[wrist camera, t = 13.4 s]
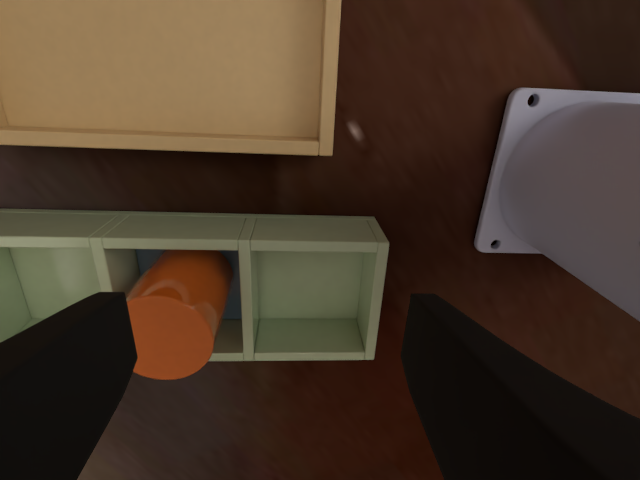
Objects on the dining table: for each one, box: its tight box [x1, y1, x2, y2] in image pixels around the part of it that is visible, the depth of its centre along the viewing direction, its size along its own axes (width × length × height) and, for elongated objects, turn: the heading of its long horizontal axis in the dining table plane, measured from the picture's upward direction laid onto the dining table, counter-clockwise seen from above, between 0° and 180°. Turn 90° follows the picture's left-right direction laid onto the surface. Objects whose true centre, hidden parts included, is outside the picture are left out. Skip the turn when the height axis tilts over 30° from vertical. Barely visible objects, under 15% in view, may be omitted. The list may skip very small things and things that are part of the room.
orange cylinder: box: [126, 249, 234, 380], centre depth 16 cm, size 4×4×5 cm
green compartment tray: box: [0, 209, 390, 361], centre depth 17 cm, size 18×6×3 cm, turn 87°
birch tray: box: [0, 0, 342, 156], centre depth 13 cm, size 14×11×2 cm
